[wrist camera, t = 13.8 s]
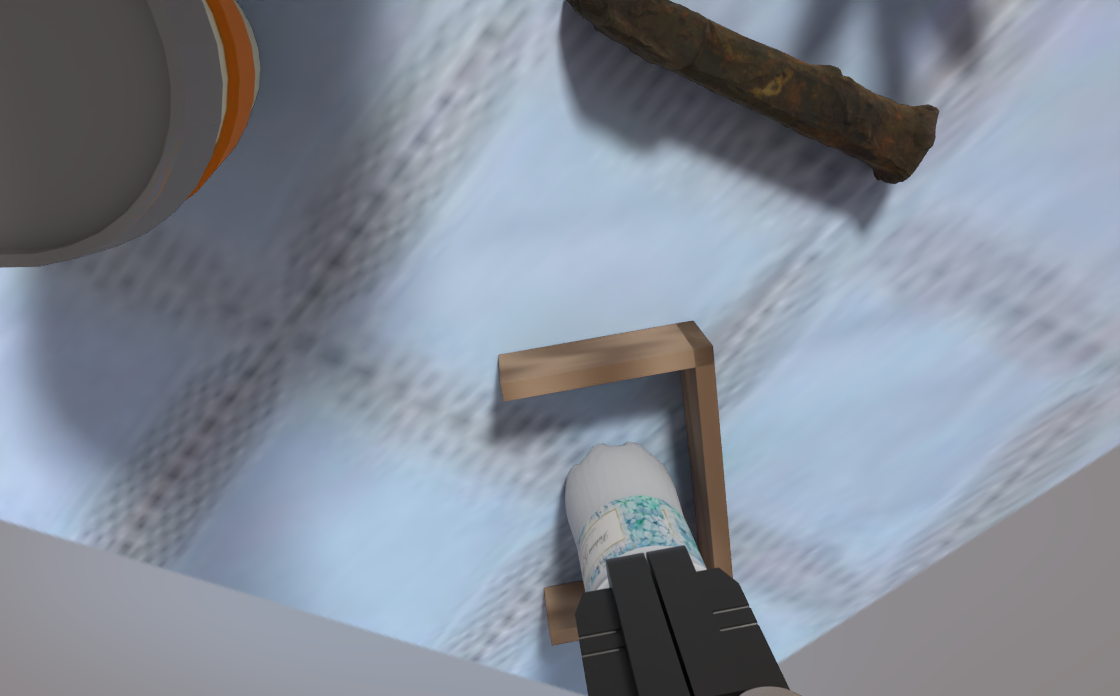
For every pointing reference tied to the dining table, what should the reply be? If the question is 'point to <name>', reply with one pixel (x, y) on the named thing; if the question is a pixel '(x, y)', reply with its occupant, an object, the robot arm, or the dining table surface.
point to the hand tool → (772, 83)
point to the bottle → (623, 509)
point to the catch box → (632, 360)
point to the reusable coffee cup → (113, 116)
